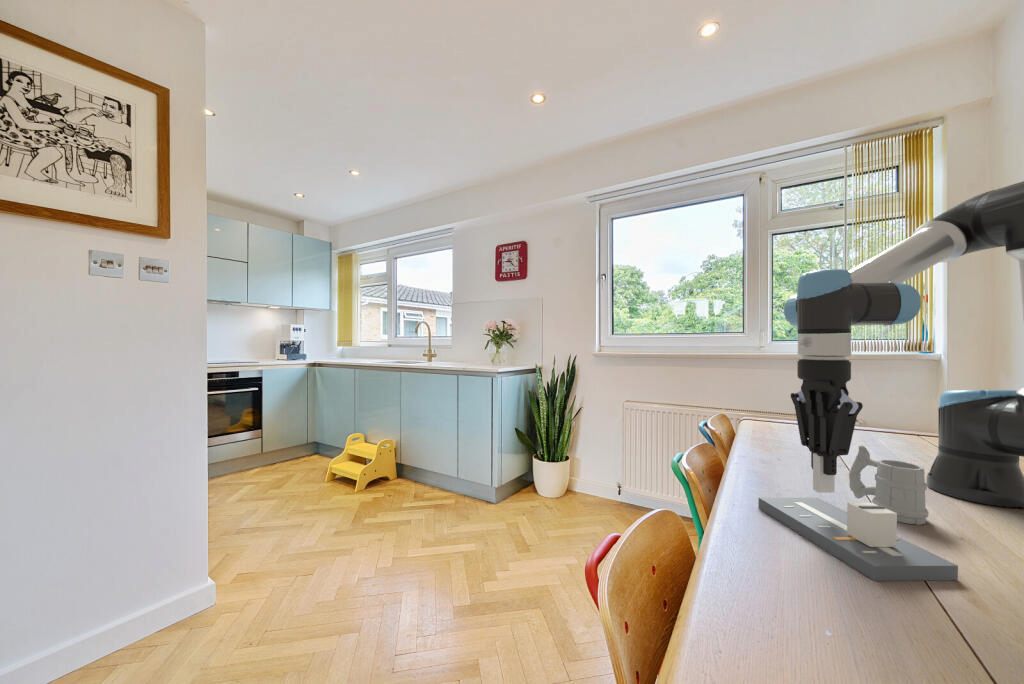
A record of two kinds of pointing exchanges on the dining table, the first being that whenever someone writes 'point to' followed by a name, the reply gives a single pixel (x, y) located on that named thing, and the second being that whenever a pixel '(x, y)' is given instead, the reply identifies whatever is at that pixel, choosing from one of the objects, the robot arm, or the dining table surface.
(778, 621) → the dining table surface
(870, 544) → the fader tab
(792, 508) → the console
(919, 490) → the mug
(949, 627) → the dining table surface
